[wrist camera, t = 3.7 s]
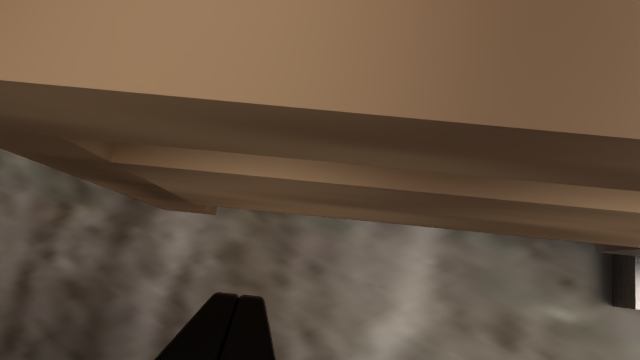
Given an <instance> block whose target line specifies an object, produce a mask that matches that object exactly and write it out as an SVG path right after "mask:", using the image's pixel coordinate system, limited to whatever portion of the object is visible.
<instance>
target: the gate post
mask: <svg viewBox="0 0 640 360" xmlns="http://www.w3.org/2000/svg"><path fill="white" fill-rule="evenodd" d="M613 306H615V307H622V308H630V309H639V310H640V256H630V255H620V254H613Z"/></svg>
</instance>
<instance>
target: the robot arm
mask: <svg viewBox="0 0 640 360" xmlns="http://www.w3.org/2000/svg"><path fill="white" fill-rule="evenodd" d="M154 360H276V358H275V353H274V348H273V342H272V337H271V332H270V327H269V322H268V316H267V311H266V306H265V301H264V299H263V298H262V297H260V296H251V295H242V296H240V298H239V296H238V295H237V294H231V293H221V292H218V293H215V294H213V295H212V296H211V297H210V299H209V300H208V301H207V302H206V303H205V304H204V305H203V306H202V307H201V309H200V310H199V311H198V312H197V313H196V314H195V315H194V316H193V317H192V318H191V320H190V321H189V322H188V323H187V324H186V325H185V326H184V327H183V328H182V330H181V331H180V332H179V333H178V334H177V335H176V336H175V337H174V338H173V340H172V341H171V342H170V343H169V344H168V345H167V346H166V347H165V348H164V349H163V351H162V352H161V353H160V354H159V355H158V356H157V357H156V358H155V359H154Z"/></svg>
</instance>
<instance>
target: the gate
mask: <svg viewBox="0 0 640 360" xmlns="http://www.w3.org/2000/svg"><path fill="white" fill-rule="evenodd" d="M0 148H1V149H4V150H6V151H9V152H12V153H14V154H17V155H20V156H22V157H25V158H28V159H31V160H33V161H36V162H39V163H41V164H44V165H47V166H49V167H52V168H55V169H57V170H60V171H63V172H65V173H68V174H71V175H73V176H76V177H79V178H81V179H84V180H87V181H89V182H92V183H95V184H97V185H100V186H103V187H105V188H108V189H111V190H113V191H116V192H119V193H121V194H124V195H127V196H129V197H132V198H135V199H137V200H140V201H143V202H145V203H148V204H151V205H153V206H156V207H159V208H161V209H164V210H172V211H182V212H192V213H202V214H212V215H216V209H217V206H219V207H229V208H239V209H249V210H260V211H270V212H280V213H290V214H301V215H311V216H321V217H331V218H342V219H352V220H362V221H372V222H382V223H393V224H403V225H413V226H423V227H434V228H444V229H454V230H464V231H475V232H485V233H495V234H505V235H516V236H526V237H536V238H546V239H556V240H567V241H577V242H587V243H596V252H600V253H610V254H620V255H630V256H640V0H0Z"/></svg>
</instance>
